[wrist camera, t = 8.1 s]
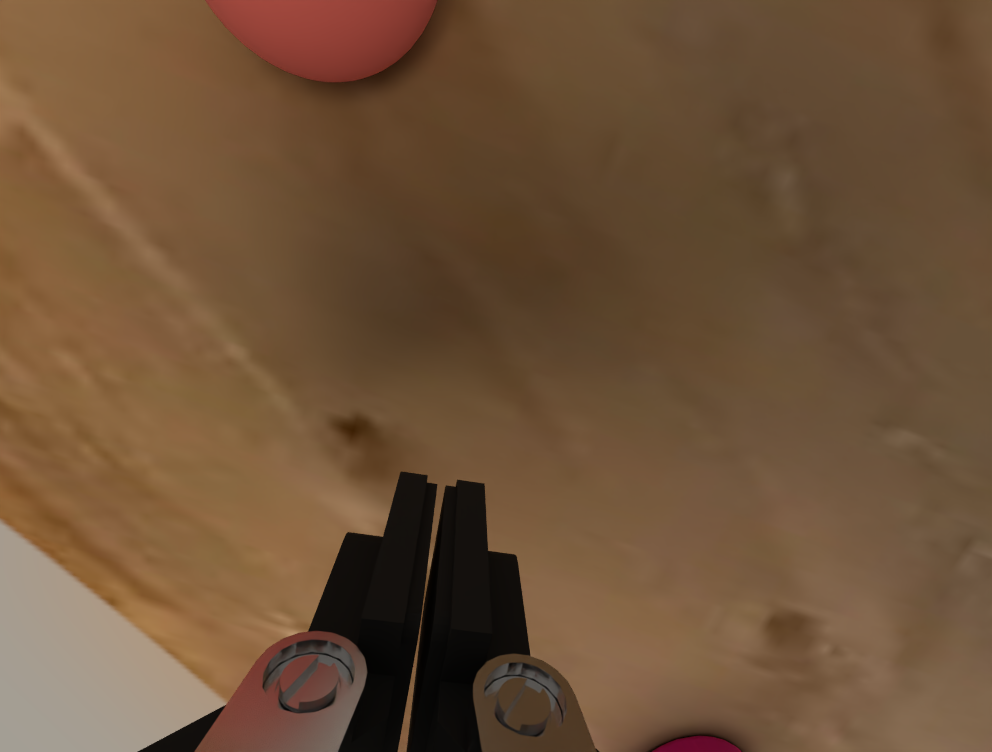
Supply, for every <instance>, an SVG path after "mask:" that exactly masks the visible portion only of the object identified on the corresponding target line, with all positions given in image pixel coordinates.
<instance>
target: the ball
mask: <svg viewBox="0 0 992 752" xmlns="http://www.w3.org/2000/svg"><path fill="white" fill-rule="evenodd" d="M205 1H206V2H207V4H208V5H209V7H210V8H211V9H212V11H213V12H214V13H215V14H216V16H217V17H218V18H219V19H220V21H221V22H222V23H223V24H224V26H225V27H226V28H227V29H228V30H229V31H230V32H231V33H232V34H233V35H234V36H235V37H236V38H237V39H239V40H240V41H241V42H242V43H243V44H244V45H245V46H246V47H247V48H249V49H250V50H251V51H253V52H254V53H256V54H257V55H258V56H260V57H261V58H262V59H264V60H265V61H267V62H269V63H271V64H272V65H274V66H276V67H278V68H280V69H282V70H284V71H286V72H288V73H291V74H294V75H297V76H300V77H303V78H307V79H311V80H315V81H322V82H348V81H355V80H359V79H363V78H366V77H369V76H372V75H374V74H377V73H379V72H381V71H383V70H384V69H386V68H388V67H389V66H391V65H392V64H394V63H395V62H397V61H398V60H399V59H400V58H401V57H402V56H403V55H404V54H405V53H407V52H408V51H409V50H410V49H411V47H412V46H413V45H414V44H415V42H416V41H417V40H418V38H419V37H420V36H421V34H422V33H423V31H424V29H425V27H426V25H427V23H428V22H429V20H430V18H431V16H432V14H433V11H434V8H435V5H436V3H437V0H205Z"/></svg>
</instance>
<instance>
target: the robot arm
mask: <svg viewBox="0 0 992 752" xmlns="http://www.w3.org/2000/svg"><path fill="white" fill-rule="evenodd" d="M427 477H428V475H421V474H415V473H408V472H400V476H399V480H398V483H397V487H396V491H395V495H394V498H393V502H392V506H391V510H390V513H389V517H388V521H387V524H386V528H385V532H384V536H383V537H380V536H373V535H365V534H358V533H350V532H348V533H347V534H346V536H345V538H344V540H343V543H342V545H341V548H340V551H339V553H338V556H337V558H336V561H335V564H334V566H333V569H332V571H331V574H330V576H329V579H328V582H327V584H326V587H325V589H324V592H323V595H322V597H321V600H320V602H319V605H318V608H317V610H316V613H315V615H314V618H313V620H312V623H311V626H310V628H309V631H308V632H303V633H298V634H295V635H292V636H289V637H286V638H283V639H282V640H280V641H278V642H277V643H275V644H274V645H272V646H271V647H269V648H268V649H267V650H266V651H265V652H264V653H263V654H262V655H261V656H260V657H259V659H258V660H257V661H256V662H255V664H254V665H253V667H252V668H251V670H250V671H249V672H248V674H247V675H246V677H245V678H244V680H243V681H242V683H241V684H240V686H239V687H238V689H237V690H236V692H235V693H234V694H233V696H232V697H231V699H230V700H229V702H228V703H227V705H225V706H223V707H221V708H219V709H217V710H215V711H214V712H212V713H210V714H208V715H206V716H204V717H202V718H200V719H199V720H197V721H195V722H193V723H191V724H189V725H187V726H186V727H183V728H182V729H180V730H178V731H176V732H174V733H172V734H170V735H168V736H166V737H165V738H163V739H161V740H159V741H157V742H155V743H153V744H151V745H149V746H148V747H146V748H144V749H142V750H140V751H138V752H398V746H399V740H400V735H401V729H402V724H403V718H404V713H405V707H406V702H407V696H408V690H409V685H410V679H411V674H412V668H413V663H414V657H415V652H416V646H417V640H418V634H419V628H420V621H421V614H422V606H423V598H424V590H425V582H426V573H427V565H428V557H429V549H430V540H431V532H432V524H433V516H434V508H435V499H436V491H437V484H433V483H427ZM407 752H599V751H598V750H597V749H596V748H595V746H594V743H593V741H592V738H591V736H590V733H589V730H588V728H587V725H586V722H585V720H584V717H583V714H582V712H581V709H580V706H579V704H578V701H577V698H576V696H575V694H574V692H573V690H572V688H571V687H570V685H569V683H568V681H567V680H566V679H565V678H564V677H563V676H562V675H561V674H560V673H559V672H558V671H557V670H556V669H555V668H553V667H552V666H550V665H549V664H547V663H546V662H544V661H542V660H539V659H537V658H534V657H531V656H530V649H529V642H528V634H527V627H526V620H525V612H524V605H523V597H522V590H521V583H520V575H519V568H518V561H517V557H516V555H514V554H507V553H499V552H492V551H488V542H487V523H486V504H485V486H484V484H483V483H476V482H469V481H462V480H457V483H456V487H453V486H447V485H446V487H445V492H444V497H443V503H442V508H441V514H440V519H439V525H438V530H437V536H436V541H435V547H434V553H433V558H432V564H431V569H430V575H429V580H428V586H427V591H426V597H425V603H424V610H423V617H422V625H421V634H420V642H419V651H418V659H417V668H416V676H415V685H414V693H413V702H412V710H411V718H410V727H409V735H408V744H407Z"/></svg>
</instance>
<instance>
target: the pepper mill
mask: <svg viewBox="0 0 992 752" xmlns="http://www.w3.org/2000/svg"><path fill="white" fill-rule="evenodd" d="M652 752H742V751H741V750H740V749H739V748H737V747H736V746H734V745H733V744H731V743H729V742H727V741H725V740H723V739H719V738H715V737H709V736H693V737H687V738H681V739H677V740H674V741H671V742H668V743H666V744H664V745H662V746H660V747H658V748H657V749H655V750H654V751H652Z"/></svg>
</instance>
